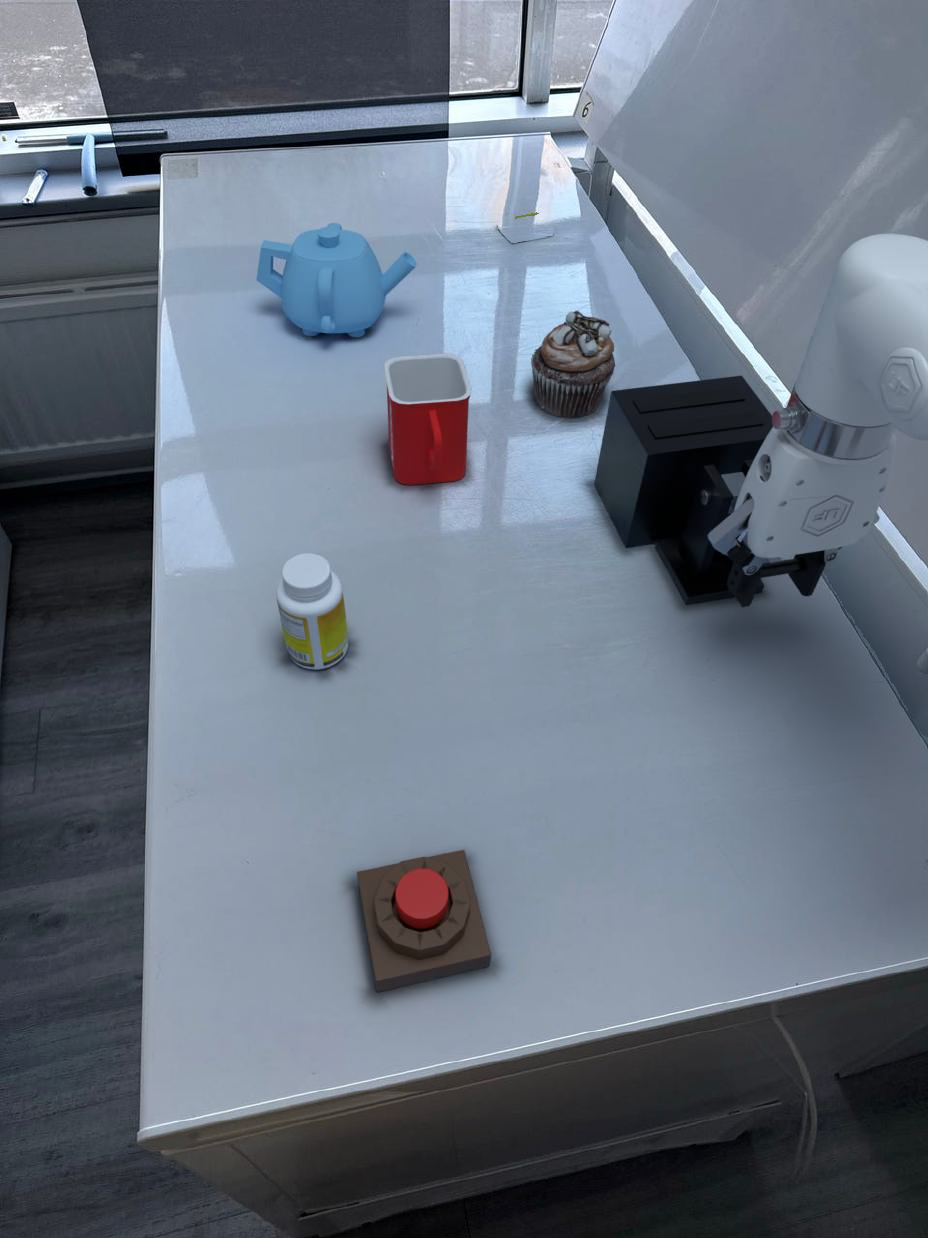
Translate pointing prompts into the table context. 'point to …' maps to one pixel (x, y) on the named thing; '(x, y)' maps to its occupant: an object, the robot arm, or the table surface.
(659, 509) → the toaster
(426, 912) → the red button
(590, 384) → the cupcake
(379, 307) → the teapot
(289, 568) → the supplement bottle
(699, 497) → the lever bracket
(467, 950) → the button block
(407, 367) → the mug
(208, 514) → the table surface
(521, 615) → the table surface
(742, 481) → the toaster lever
